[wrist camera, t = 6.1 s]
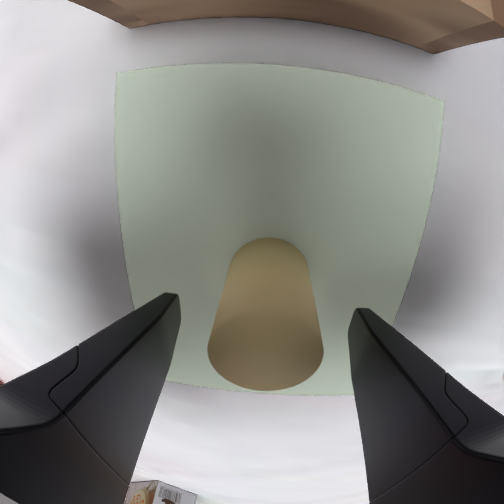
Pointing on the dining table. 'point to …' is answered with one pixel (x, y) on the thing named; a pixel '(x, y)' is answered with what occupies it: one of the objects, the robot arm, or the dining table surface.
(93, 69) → the dining table surface
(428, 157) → the lid
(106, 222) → the dining table surface
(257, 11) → the box
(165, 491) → the coffee box
